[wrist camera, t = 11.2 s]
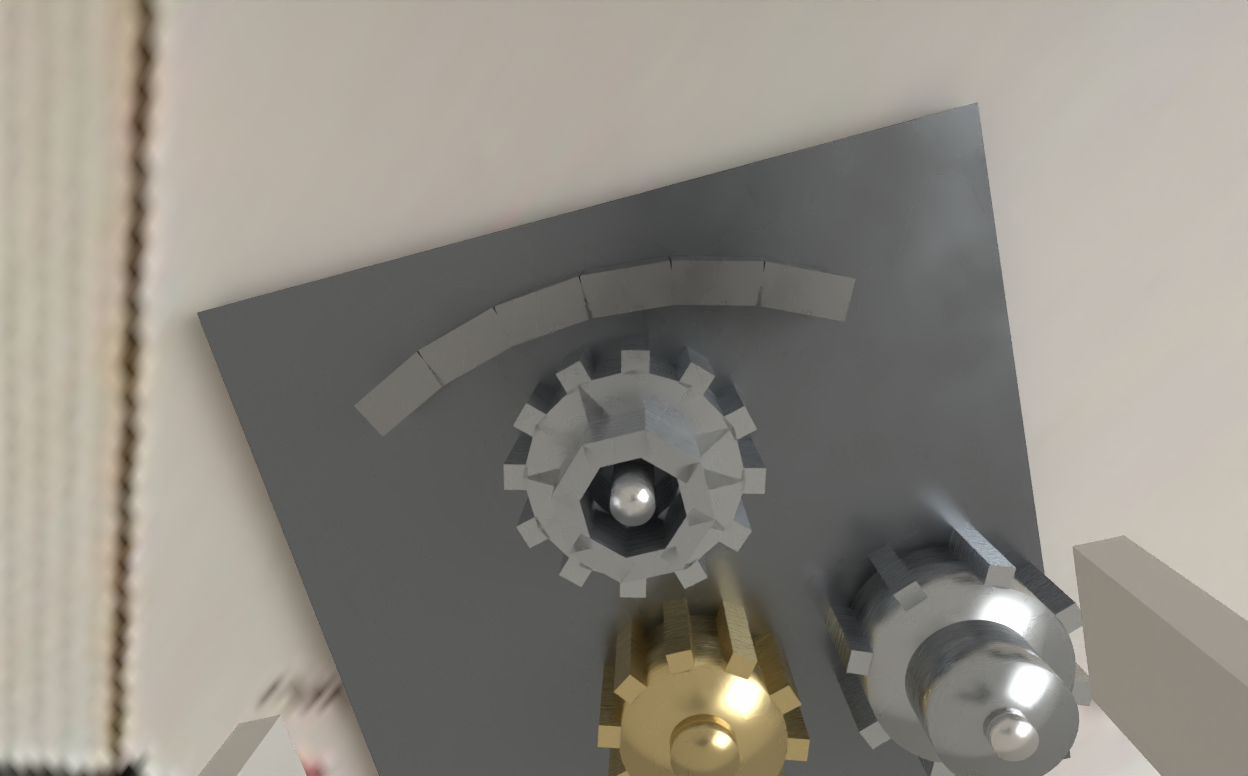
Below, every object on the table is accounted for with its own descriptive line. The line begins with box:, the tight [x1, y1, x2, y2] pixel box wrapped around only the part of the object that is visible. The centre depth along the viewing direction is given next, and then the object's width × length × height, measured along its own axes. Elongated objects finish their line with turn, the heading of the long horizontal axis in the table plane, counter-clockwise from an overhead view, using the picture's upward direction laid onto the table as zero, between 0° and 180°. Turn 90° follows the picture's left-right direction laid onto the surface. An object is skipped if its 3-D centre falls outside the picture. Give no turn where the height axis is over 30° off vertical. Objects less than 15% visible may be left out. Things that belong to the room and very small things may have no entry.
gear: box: [503, 335, 766, 598], centre depth 25 cm, size 9×9×6 cm
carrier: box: [197, 103, 1092, 776], centre depth 26 cm, size 26×28×7 cm
